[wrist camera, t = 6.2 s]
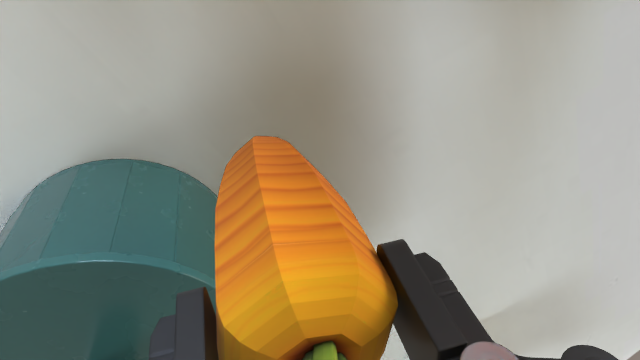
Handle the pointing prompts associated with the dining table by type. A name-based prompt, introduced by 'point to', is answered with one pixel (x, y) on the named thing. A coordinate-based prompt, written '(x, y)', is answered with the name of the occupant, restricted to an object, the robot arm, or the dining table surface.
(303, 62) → the dining table surface
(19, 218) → the pot
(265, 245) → the carrot
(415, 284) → the robot arm
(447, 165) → the dining table surface
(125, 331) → the pot lid
